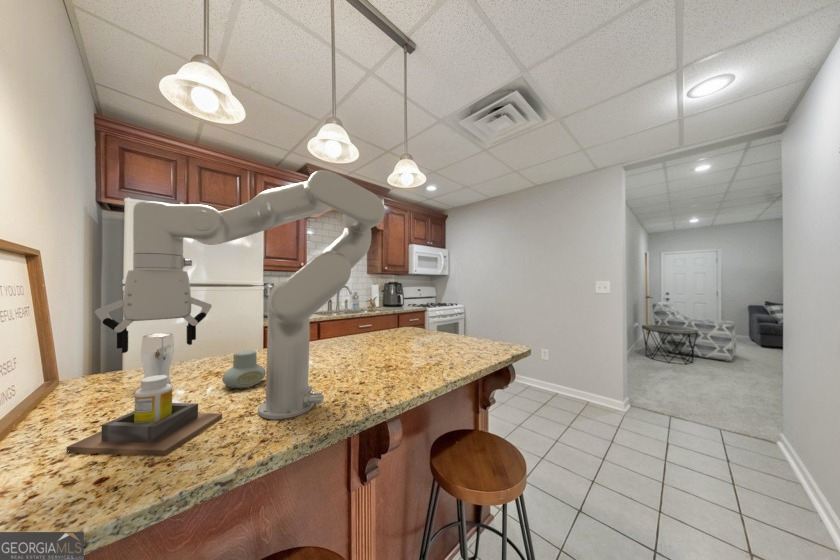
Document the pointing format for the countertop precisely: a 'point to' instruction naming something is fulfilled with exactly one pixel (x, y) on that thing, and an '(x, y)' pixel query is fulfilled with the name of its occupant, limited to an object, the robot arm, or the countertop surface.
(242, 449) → the countertop surface
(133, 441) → the tray
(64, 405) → the countertop surface
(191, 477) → the countertop surface
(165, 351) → the beer glass
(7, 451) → the countertop surface
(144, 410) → the supplement bottle
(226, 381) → the air freshener
